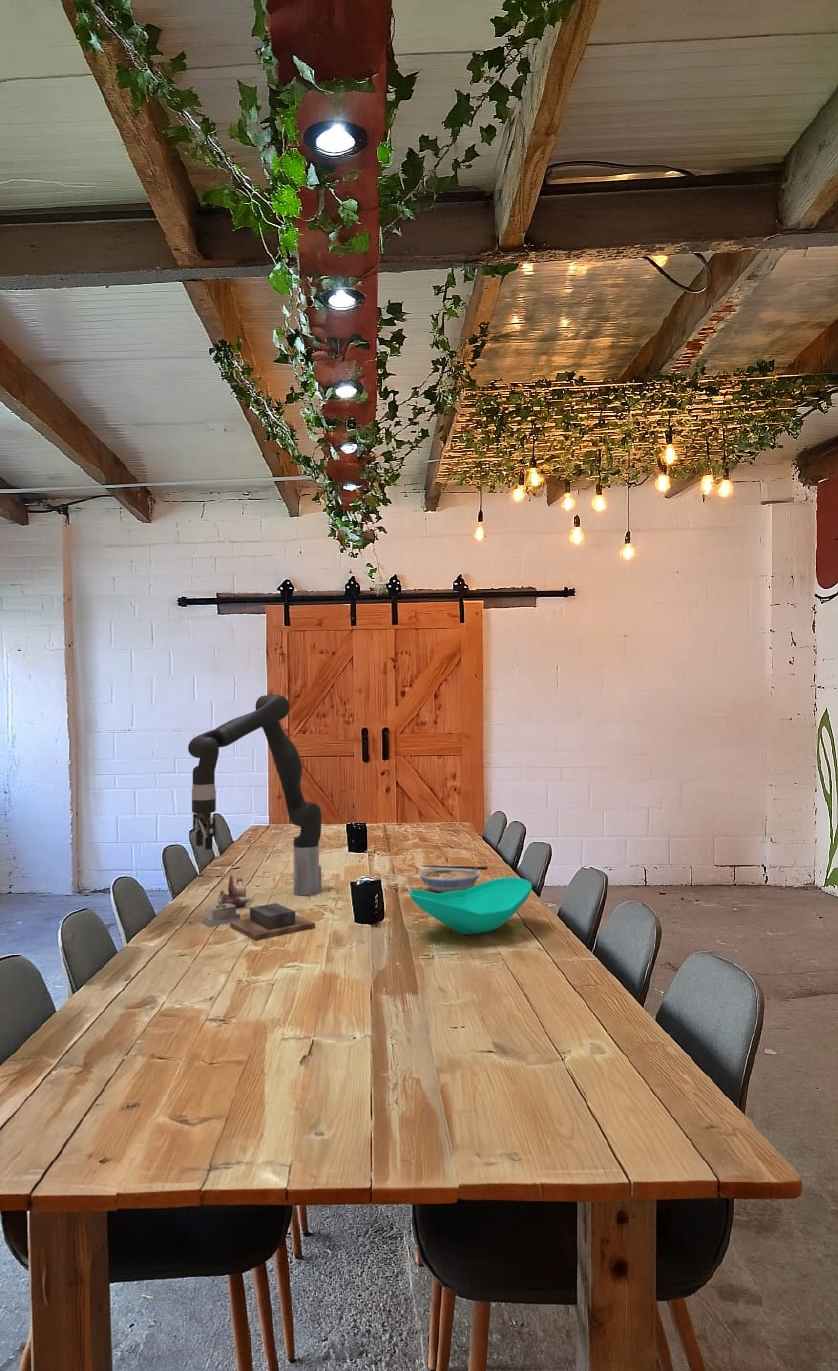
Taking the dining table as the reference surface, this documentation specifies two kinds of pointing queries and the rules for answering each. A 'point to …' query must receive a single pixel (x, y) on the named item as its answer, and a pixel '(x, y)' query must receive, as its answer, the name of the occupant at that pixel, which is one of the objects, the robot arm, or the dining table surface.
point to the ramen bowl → (450, 877)
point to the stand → (271, 922)
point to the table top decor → (475, 904)
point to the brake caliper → (234, 894)
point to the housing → (220, 915)
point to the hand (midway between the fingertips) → (204, 847)
